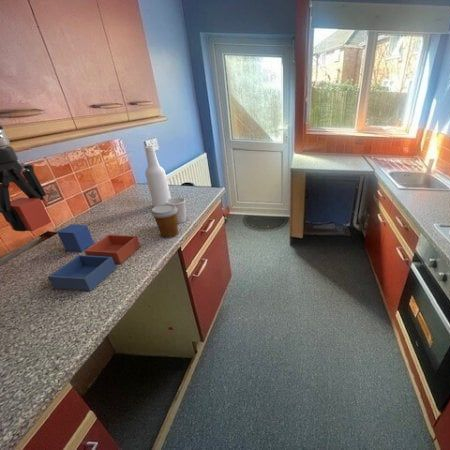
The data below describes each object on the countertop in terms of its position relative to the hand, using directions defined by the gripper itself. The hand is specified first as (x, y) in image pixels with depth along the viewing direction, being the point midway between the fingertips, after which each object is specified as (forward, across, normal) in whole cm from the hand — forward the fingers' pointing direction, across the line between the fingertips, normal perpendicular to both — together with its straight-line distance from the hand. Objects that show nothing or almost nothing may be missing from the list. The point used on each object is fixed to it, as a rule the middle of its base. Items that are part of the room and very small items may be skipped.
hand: (32, 225), depth 76 cm
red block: (0, 0, 0) cm, 0 cm away
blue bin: (+16, -4, -14) cm, 22 cm away
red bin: (+16, +10, -14) cm, 24 cm away
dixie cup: (+17, +39, -24) cm, 48 cm away
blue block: (+16, +13, +2) cm, 21 cm away
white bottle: (+17, +54, -7) cm, 57 cm away
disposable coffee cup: (+17, +26, -26) cm, 40 cm away
